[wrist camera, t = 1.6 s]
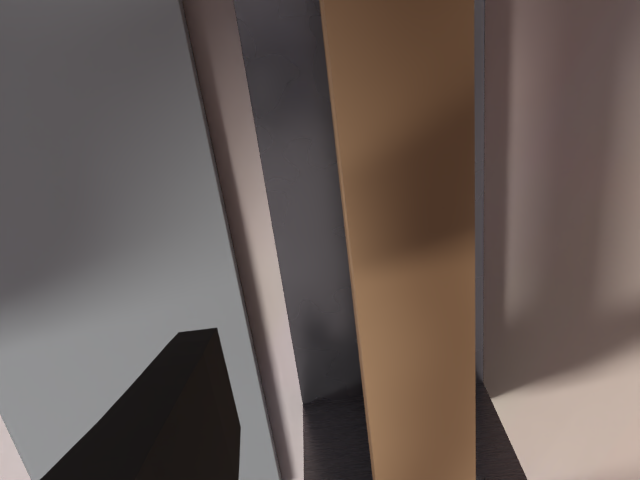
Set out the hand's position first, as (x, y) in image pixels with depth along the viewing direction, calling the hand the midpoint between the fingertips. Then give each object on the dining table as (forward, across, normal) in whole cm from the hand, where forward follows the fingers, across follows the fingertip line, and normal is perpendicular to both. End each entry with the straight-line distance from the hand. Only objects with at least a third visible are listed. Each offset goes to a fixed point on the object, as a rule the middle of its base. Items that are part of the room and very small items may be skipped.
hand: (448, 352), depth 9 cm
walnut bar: (+5, 0, 0) cm, 5 cm away
